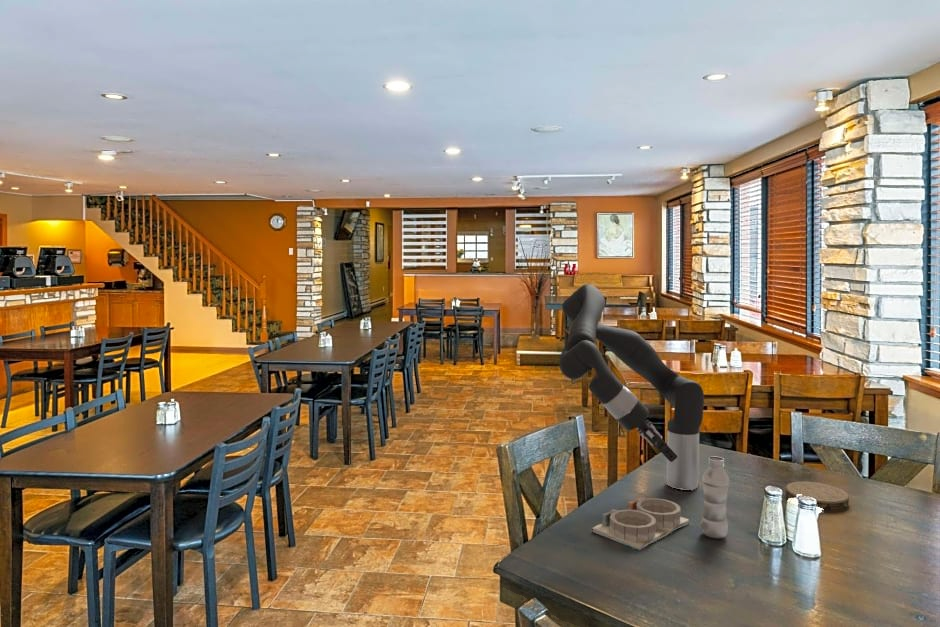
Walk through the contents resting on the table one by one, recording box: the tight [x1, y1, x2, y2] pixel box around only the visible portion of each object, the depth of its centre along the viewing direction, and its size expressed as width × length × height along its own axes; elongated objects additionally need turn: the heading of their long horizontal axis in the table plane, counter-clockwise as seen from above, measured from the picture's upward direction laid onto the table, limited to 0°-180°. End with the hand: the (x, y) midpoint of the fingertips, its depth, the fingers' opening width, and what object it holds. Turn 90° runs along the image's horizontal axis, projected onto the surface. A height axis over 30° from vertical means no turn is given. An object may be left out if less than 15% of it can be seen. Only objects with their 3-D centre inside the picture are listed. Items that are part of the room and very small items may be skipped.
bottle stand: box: [591, 497, 690, 548], centre depth 166 cm, size 23×14×5 cm, turn 131°
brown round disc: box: [785, 481, 850, 512], centre depth 184 cm, size 16×16×3 cm
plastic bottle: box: [700, 455, 730, 539], centre depth 160 cm, size 6×7×20 cm
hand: (669, 453), depth 160 cm, fingers open, 8 cm apart
